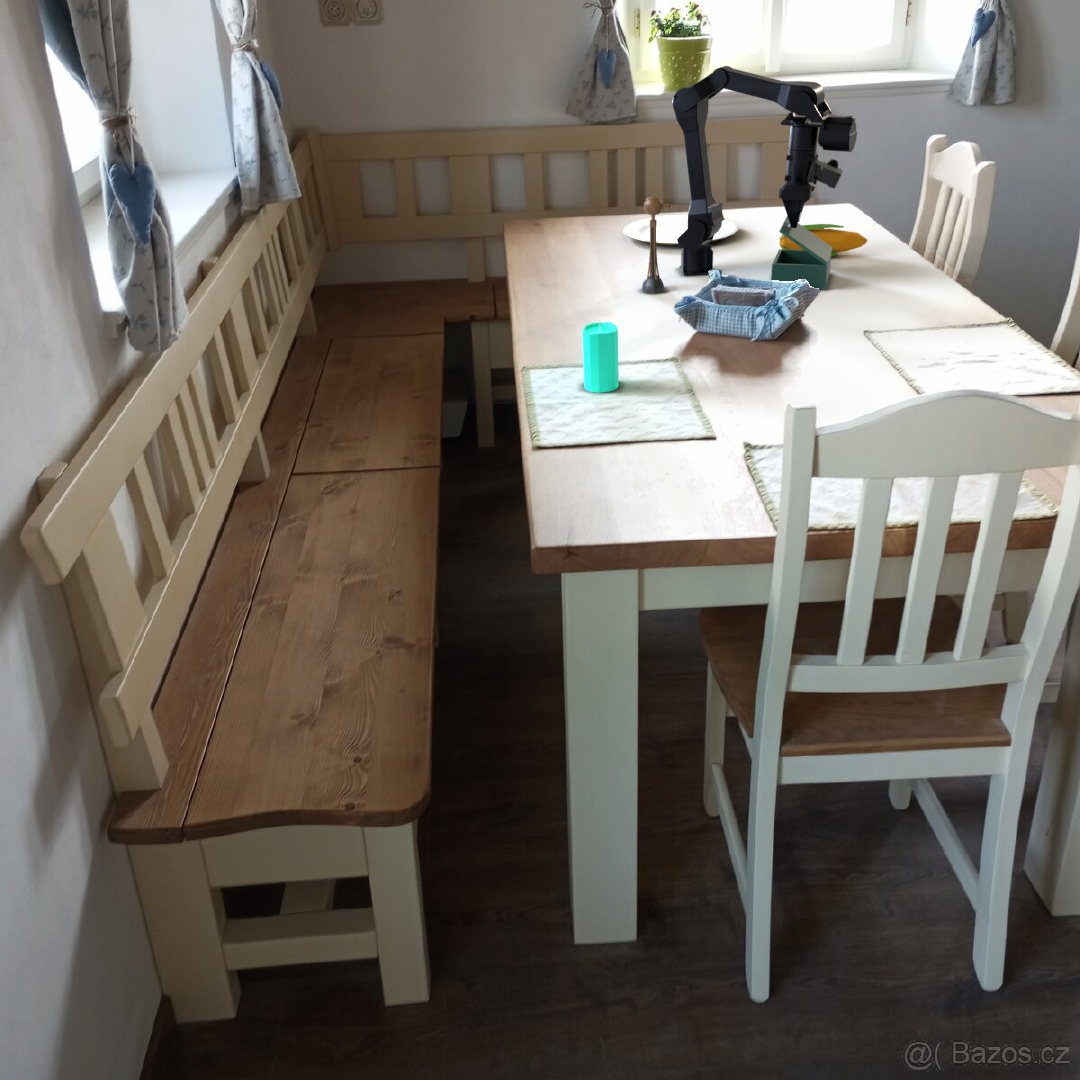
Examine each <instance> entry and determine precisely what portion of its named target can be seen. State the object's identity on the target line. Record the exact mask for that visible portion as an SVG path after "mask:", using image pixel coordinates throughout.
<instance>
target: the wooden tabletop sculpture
mask: <svg viewBox="0 0 1080 1080" xmlns="http://www.w3.org/2000/svg"><path fill="white" fill-rule="evenodd" d="M643 209H644V212H645V213H646V214H647V215H649V216H650V218H651V220H649V221H650V243H649V256H648V257H649V258H648V267H647V275H646V277H645V278H644V280H643V281H642V285H641V291H642V293H645V294H648V295H649V294H652V295H655V294H662V293H663V292H664V291H665V284H664V282H663V280H662V278H661V277H660V273H659V264H658V251H657V244H656V221H657V220H655V217H656V216H657V215H659V214H660V213H661V212H662V211H663V210H670V209H671V204H670V203H663V202H662V200H661V199H660V198H659V197H657V196H649V197H648V198H646V199H645V200H644V203H643Z"/></svg>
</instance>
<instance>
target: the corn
mask: <svg viewBox="0 0 1080 1080" xmlns="http://www.w3.org/2000/svg"><path fill="white" fill-rule="evenodd" d="M801 225H802V226H803V227H804V228H806V229H807V230H809V231H810V232H811V233H813V234H814V235H816V236H817V237H818V238H820V239H821V240H823V241H824V242H825V243H827V244H828V245H830V246H831V247H832V252H831V257H835V256H838V255H839V254H838V253H843V252H848V251H851V250H855V249H859V248H861V247H863V246H864V245H865V244H867V243H868V239H867V238H866V237H864V236H863V235H862V234H860V233H859V232H856V231H847V230H841V229H840V228H845V226H844V225H840V224H834V223H833V224H832V223H816V224H815V223H814V224H813V223H812V224H801ZM834 228H835V229H834ZM779 246H780V249H783V250H804V249H803V248H801V247H800V246H798V245H797V244H796V243H794V242H793V241H791V240H790V239H789V238H787V237H786V236H784V235H783V234H781V236H780V238H779Z"/></svg>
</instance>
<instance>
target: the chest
mask: <svg viewBox="0 0 1080 1080" xmlns="http://www.w3.org/2000/svg"><path fill="white" fill-rule="evenodd" d="M831 252H832V251H831ZM831 262H832V256H831V255H830V258H829V261H828V263H827V265H825V264H824V263H822V262H821V261H819V260H818V259H817V258H815V257H814V256H812V255H811V254H810V253H808V252H807V251H805V250H783V249H782V248H780V249H778V250H777V253H776V255H775V257H774V259H773V261H772V263H771V279H770V281H771V280H779V281H795V280H798V279H806V280H807V281H808V282H809V284H810V286H812V287H814V288H819V289H820V290H819V291H826V288H827V285H828V282H829V278H830V273H831V265H832V263H831Z"/></svg>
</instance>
